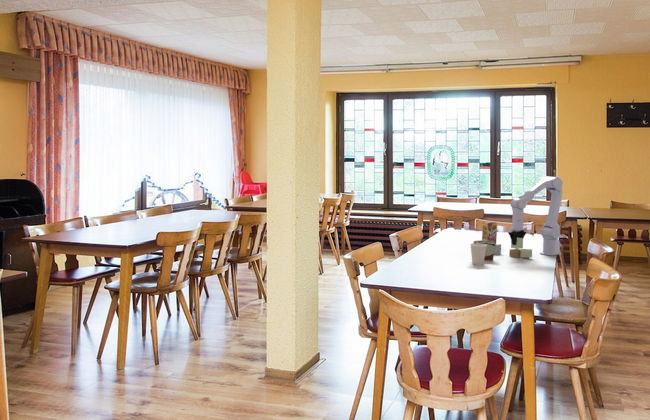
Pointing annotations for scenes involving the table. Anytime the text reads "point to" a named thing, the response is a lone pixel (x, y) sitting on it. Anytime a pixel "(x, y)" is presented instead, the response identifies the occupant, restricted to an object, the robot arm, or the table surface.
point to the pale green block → (526, 253)
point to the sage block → (518, 243)
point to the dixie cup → (478, 253)
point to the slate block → (497, 249)
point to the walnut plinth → (515, 253)
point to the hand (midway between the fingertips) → (516, 244)
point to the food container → (488, 249)
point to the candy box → (489, 231)
